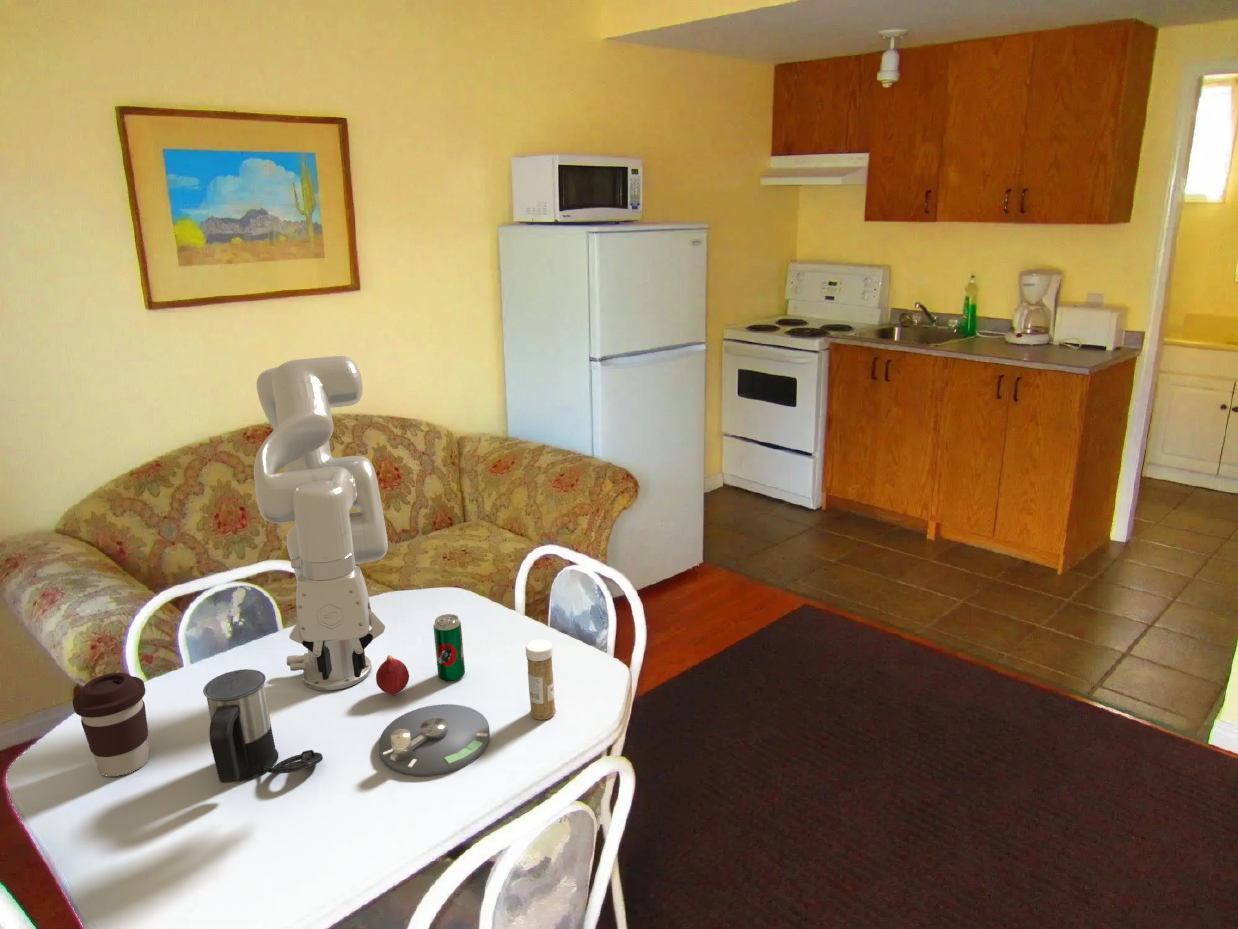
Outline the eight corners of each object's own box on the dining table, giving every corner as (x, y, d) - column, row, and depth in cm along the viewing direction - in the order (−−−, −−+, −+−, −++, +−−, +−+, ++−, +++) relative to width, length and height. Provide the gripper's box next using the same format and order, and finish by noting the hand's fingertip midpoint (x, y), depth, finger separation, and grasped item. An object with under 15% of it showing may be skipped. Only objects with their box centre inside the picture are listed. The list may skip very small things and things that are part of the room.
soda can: (469, 677, 164) (464, 620, 160) (444, 686, 161) (439, 628, 157) (458, 666, 168) (453, 610, 164) (434, 674, 165) (428, 618, 161)
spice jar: (560, 715, 151) (557, 646, 147) (537, 724, 148) (533, 654, 145) (547, 703, 155) (544, 636, 151) (525, 711, 152) (520, 643, 148)
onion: (417, 690, 160) (413, 651, 158) (397, 706, 155) (392, 666, 153) (392, 683, 162) (387, 645, 160) (371, 699, 157) (366, 660, 155)
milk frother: (218, 755, 142) (203, 675, 138) (318, 731, 148) (306, 654, 144) (216, 808, 130) (200, 722, 125) (326, 779, 136) (313, 696, 131)
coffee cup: (88, 791, 134) (67, 707, 130) (91, 757, 143) (72, 677, 138) (159, 771, 138) (141, 689, 134) (158, 739, 147) (142, 661, 143)
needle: (434, 721, 146) (432, 702, 145) (453, 729, 144) (451, 710, 143) (383, 755, 138) (381, 736, 137) (402, 765, 135) (400, 745, 134)
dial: (371, 781, 135) (370, 772, 134) (388, 716, 152) (387, 707, 151) (487, 771, 136) (486, 762, 136) (491, 708, 154) (491, 699, 153)
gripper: (262, 578, 123) (280, 691, 128) (382, 571, 125) (395, 683, 130) (277, 558, 130) (293, 665, 136) (390, 551, 132) (402, 658, 137)
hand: (343, 673), depth 133 cm, fingers open, 4 cm apart
